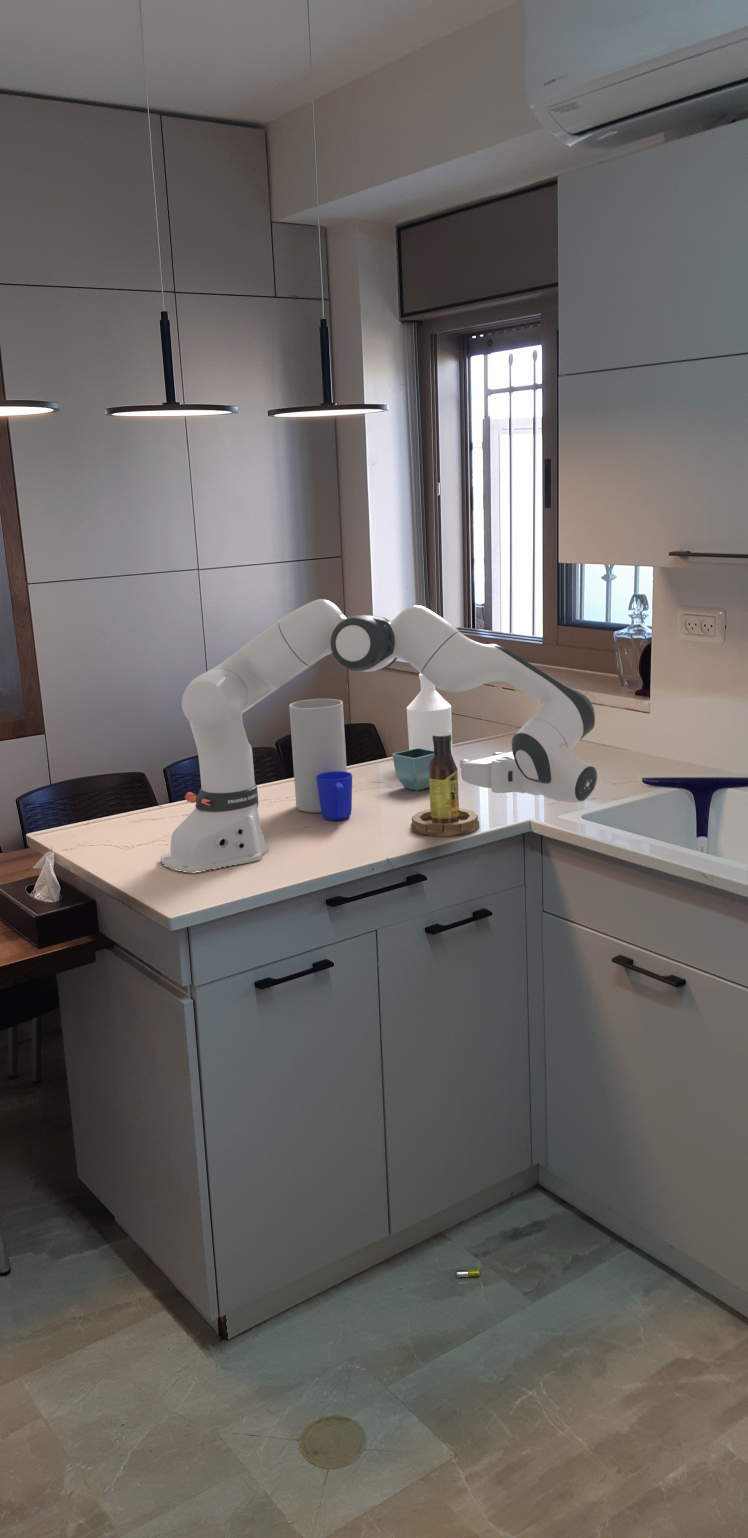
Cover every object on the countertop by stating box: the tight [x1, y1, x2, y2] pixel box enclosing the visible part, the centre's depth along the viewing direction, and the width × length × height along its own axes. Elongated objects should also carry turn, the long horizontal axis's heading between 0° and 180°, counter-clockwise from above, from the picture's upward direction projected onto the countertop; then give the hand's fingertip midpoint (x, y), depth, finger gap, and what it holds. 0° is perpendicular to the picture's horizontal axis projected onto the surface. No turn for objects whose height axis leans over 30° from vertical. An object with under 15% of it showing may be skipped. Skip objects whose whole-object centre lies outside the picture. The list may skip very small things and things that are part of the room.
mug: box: [316, 771, 353, 821], centre depth 263 cm, size 8×12×10 cm
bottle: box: [406, 673, 453, 755], centre depth 309 cm, size 12×12×25 cm
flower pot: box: [391, 748, 434, 791], centre depth 288 cm, size 9×9×9 cm
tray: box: [410, 807, 480, 838], centre depth 254 cm, size 15×15×2 cm
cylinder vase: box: [288, 698, 348, 814], centre depth 273 cm, size 12×12×25 cm
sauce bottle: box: [429, 733, 460, 824], centre depth 252 cm, size 7×6×20 cm
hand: (478, 759), depth 242 cm, fingers open, 8 cm apart
